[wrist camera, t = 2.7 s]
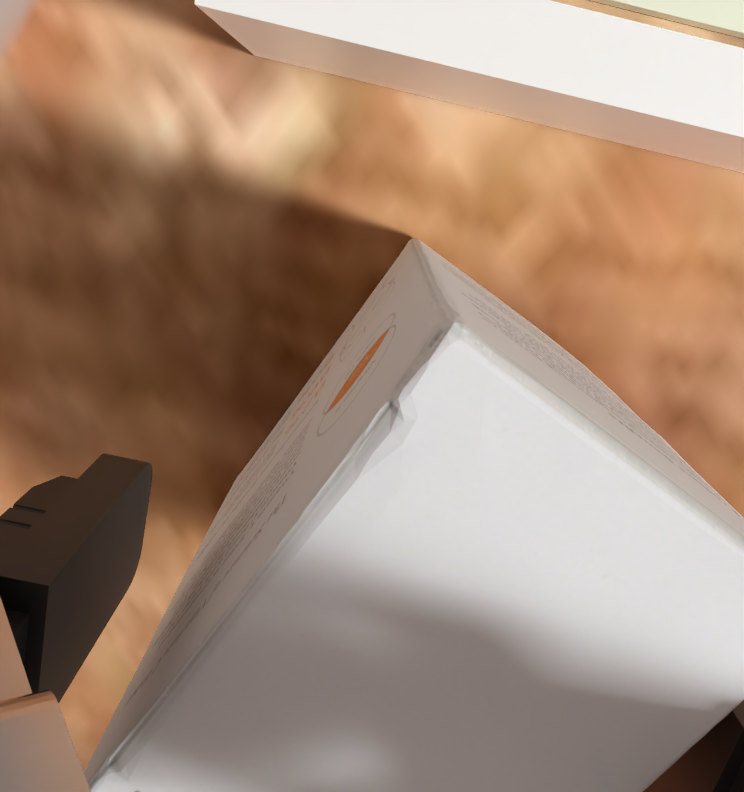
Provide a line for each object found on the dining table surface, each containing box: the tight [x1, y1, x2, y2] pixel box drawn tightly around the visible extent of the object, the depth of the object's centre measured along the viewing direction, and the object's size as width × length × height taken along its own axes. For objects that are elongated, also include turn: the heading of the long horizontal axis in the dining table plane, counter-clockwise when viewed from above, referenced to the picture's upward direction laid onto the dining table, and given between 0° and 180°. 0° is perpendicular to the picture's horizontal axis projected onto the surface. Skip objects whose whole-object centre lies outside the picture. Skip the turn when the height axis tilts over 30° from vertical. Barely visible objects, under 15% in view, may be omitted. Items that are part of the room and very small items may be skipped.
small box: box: [84, 238, 744, 792], centre depth 13 cm, size 8×6×10 cm
